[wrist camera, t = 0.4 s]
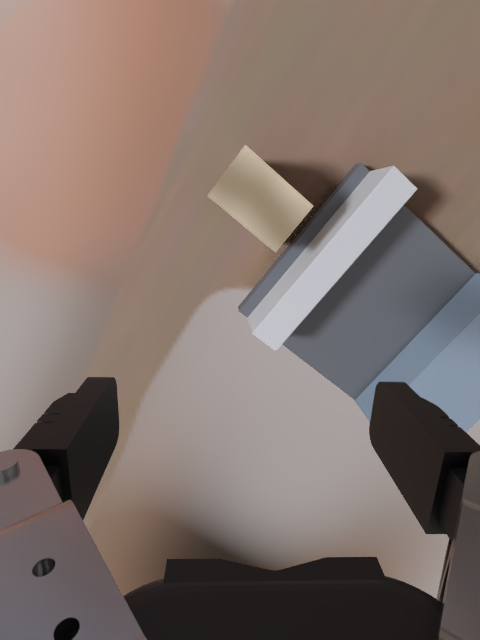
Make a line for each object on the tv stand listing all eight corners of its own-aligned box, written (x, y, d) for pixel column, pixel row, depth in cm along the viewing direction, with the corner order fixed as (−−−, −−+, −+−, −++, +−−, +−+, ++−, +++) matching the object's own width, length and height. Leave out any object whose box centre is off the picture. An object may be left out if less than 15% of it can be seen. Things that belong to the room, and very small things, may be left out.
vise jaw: (476, 272, 34) (511, 281, 30) (527, 322, 36) (566, 336, 32) (354, 400, 37) (371, 423, 33) (406, 440, 39) (428, 467, 35)
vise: (355, 165, 33) (384, 155, 27) (525, 328, 38) (580, 350, 32) (238, 306, 36) (242, 325, 30) (411, 440, 41) (443, 478, 35)
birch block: (238, 159, 32) (245, 144, 25) (291, 206, 34) (313, 206, 26) (209, 198, 33) (207, 195, 25) (262, 242, 34) (275, 252, 27)
